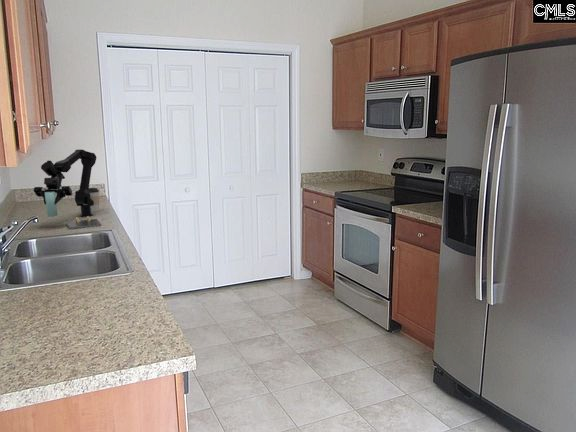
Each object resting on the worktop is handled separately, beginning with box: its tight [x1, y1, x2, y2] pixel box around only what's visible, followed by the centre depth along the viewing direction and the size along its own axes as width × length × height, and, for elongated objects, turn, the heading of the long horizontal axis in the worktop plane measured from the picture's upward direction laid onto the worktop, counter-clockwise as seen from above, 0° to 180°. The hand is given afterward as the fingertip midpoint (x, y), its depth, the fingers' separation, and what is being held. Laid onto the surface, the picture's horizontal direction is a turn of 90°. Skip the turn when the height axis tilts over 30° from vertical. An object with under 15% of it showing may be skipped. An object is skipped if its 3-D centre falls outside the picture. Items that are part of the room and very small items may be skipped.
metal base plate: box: [66, 216, 102, 230], centre depth 261 cm, size 16×16×4 cm
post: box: [45, 191, 59, 218], centre depth 254 cm, size 5×5×13 cm
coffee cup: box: [89, 187, 100, 213], centre depth 302 cm, size 9×9×15 cm
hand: (50, 203), depth 253 cm, fingers closed on post, 5 cm apart
